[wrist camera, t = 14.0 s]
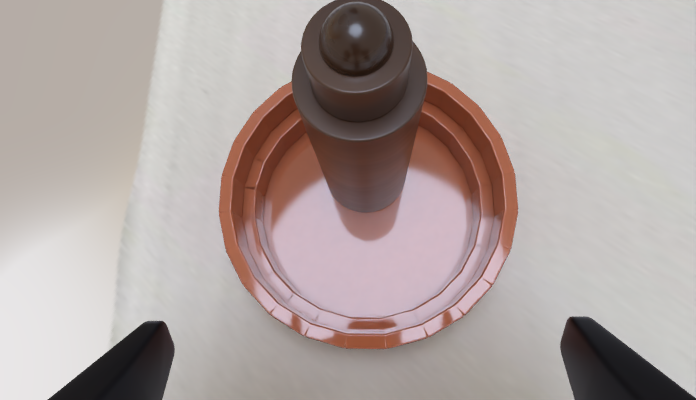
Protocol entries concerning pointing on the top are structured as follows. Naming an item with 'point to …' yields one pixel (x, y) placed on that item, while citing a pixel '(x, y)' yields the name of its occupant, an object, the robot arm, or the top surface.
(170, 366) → the robot arm
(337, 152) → the pepper mill
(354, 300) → the bowl
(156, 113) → the top surface
